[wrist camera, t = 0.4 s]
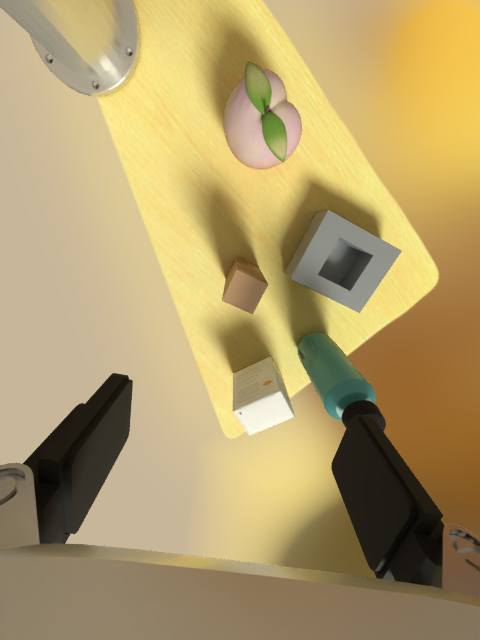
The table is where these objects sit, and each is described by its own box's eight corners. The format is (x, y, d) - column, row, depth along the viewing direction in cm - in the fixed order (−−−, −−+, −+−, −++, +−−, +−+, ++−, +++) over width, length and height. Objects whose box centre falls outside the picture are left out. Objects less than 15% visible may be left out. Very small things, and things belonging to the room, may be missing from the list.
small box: (245, 394, 49) (248, 437, 39) (232, 372, 47) (231, 411, 37) (283, 377, 47) (296, 418, 38) (271, 354, 46) (280, 390, 36)
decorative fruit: (211, 128, 33) (202, 90, 24) (262, 82, 32) (273, 23, 22) (252, 192, 36) (257, 180, 27) (300, 153, 34) (324, 126, 25)
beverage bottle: (288, 338, 44) (326, 421, 26) (322, 320, 43) (389, 394, 25) (303, 365, 47) (349, 460, 28) (336, 349, 45) (407, 437, 27)
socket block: (283, 272, 40) (290, 279, 36) (316, 211, 37) (328, 209, 32) (345, 303, 42) (359, 312, 38) (381, 247, 39) (401, 250, 34)
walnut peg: (225, 279, 40) (222, 300, 29) (236, 256, 39) (236, 269, 28) (247, 289, 41) (252, 314, 30) (258, 267, 40) (268, 284, 29)
